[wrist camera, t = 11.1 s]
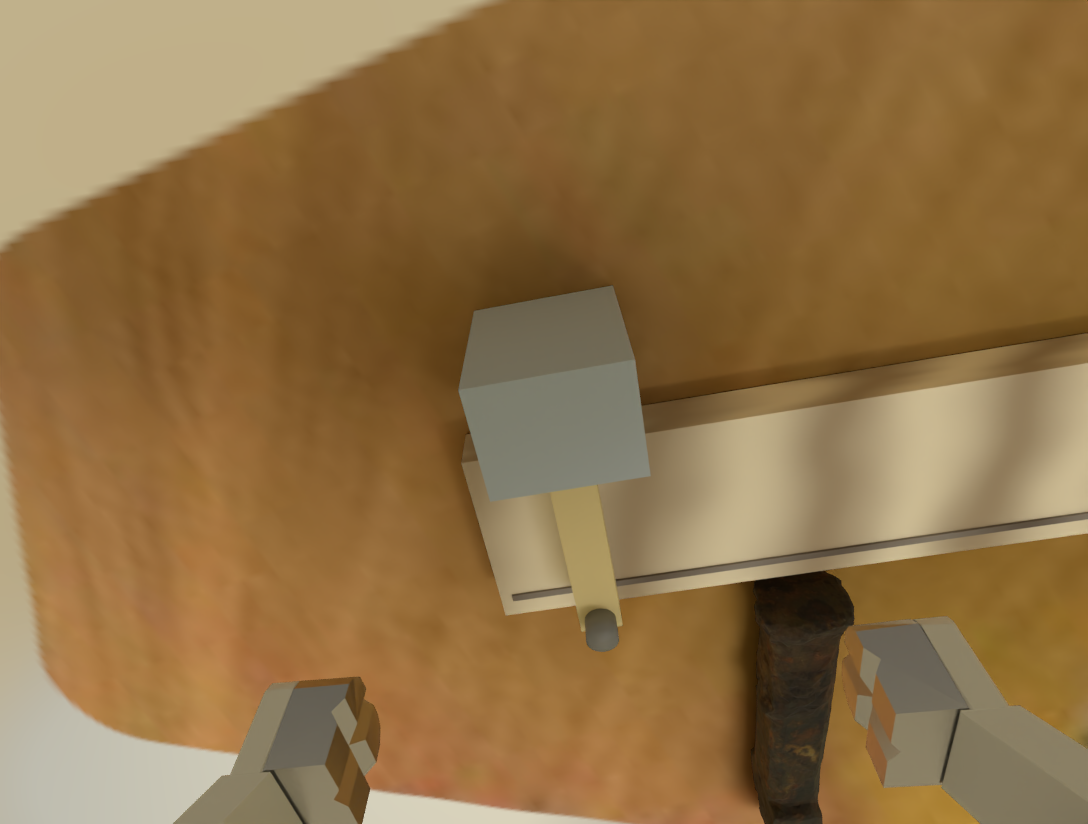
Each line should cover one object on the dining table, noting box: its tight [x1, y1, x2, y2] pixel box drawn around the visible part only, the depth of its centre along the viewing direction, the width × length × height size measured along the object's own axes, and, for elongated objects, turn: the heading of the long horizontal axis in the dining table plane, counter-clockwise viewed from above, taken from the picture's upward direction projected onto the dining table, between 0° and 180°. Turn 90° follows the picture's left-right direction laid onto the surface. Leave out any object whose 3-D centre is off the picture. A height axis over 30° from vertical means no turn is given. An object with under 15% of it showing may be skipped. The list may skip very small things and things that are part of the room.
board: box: [461, 333, 1088, 615], centre depth 27 cm, size 28×8×2 cm, turn 100°
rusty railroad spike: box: [751, 571, 854, 824], centre depth 34 cm, size 19×4×5 cm, turn 4°
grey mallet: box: [458, 285, 651, 652], centre depth 25 cm, size 5×12×6 cm, turn 11°
